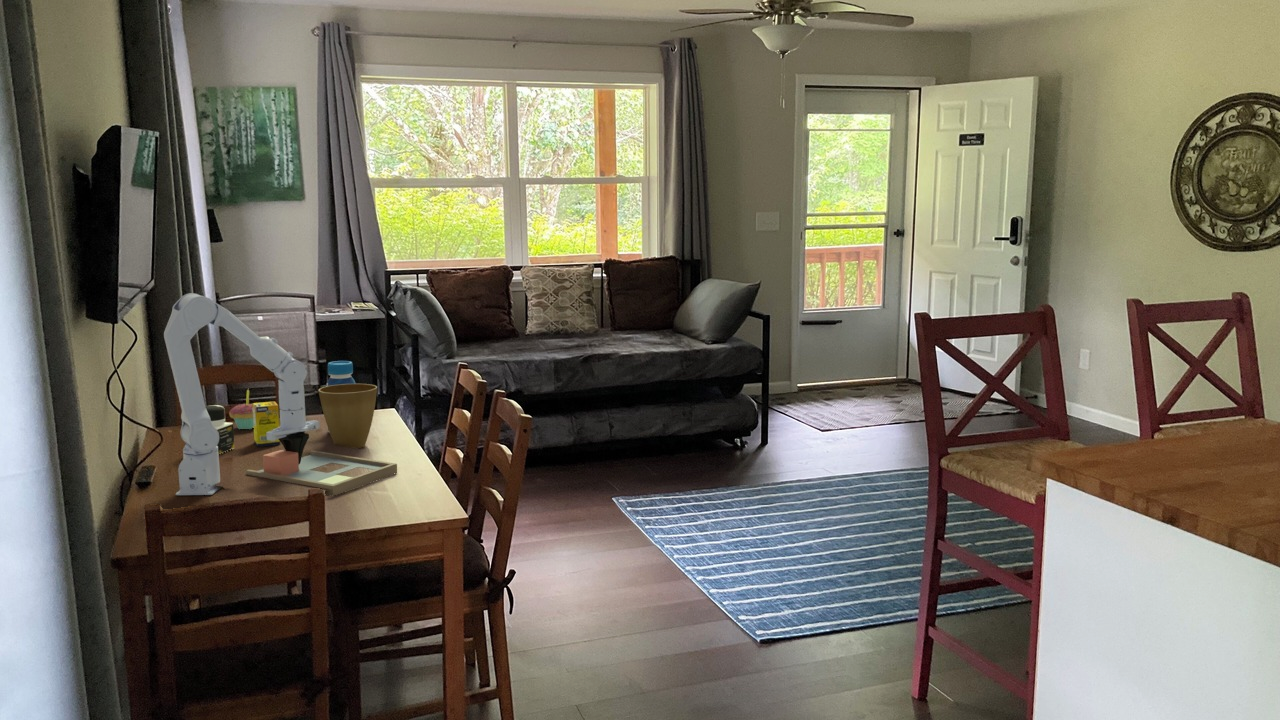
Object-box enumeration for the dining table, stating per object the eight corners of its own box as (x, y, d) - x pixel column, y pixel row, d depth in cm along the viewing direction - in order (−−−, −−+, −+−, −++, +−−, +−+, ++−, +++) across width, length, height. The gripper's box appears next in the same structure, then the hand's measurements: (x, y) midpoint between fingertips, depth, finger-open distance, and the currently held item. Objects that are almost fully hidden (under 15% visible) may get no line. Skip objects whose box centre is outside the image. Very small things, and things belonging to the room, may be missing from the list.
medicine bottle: (218, 455, 246) (215, 409, 244) (193, 454, 248) (190, 408, 246) (235, 448, 253) (232, 404, 251) (211, 447, 254) (208, 403, 253)
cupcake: (268, 427, 278) (266, 386, 276) (242, 432, 271) (240, 391, 269) (249, 423, 282) (247, 383, 280) (223, 429, 275) (221, 388, 273)
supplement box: (280, 444, 258) (278, 404, 256) (257, 447, 255) (254, 407, 253) (277, 440, 263) (275, 400, 261) (254, 442, 260) (251, 403, 258)
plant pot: (390, 444, 259) (388, 386, 256) (347, 456, 246) (344, 395, 244) (353, 437, 266) (350, 380, 264) (309, 448, 254) (306, 389, 252)
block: (263, 473, 224) (262, 455, 224) (282, 468, 229) (281, 449, 229) (280, 476, 222) (279, 458, 221) (298, 471, 227) (298, 452, 226)
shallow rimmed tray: (246, 480, 224) (246, 470, 224) (313, 459, 243) (313, 450, 242) (333, 496, 212) (333, 486, 212) (397, 473, 231) (396, 463, 231)
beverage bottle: (362, 428, 277) (359, 360, 274) (352, 435, 268) (349, 365, 265) (333, 428, 277) (330, 359, 274) (323, 435, 269) (319, 364, 266)
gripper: (280, 415, 219) (284, 473, 221) (327, 404, 232) (330, 458, 234) (258, 412, 222) (262, 469, 224) (305, 401, 235) (308, 455, 237)
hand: (295, 463), depth 229 cm, fingers closed
